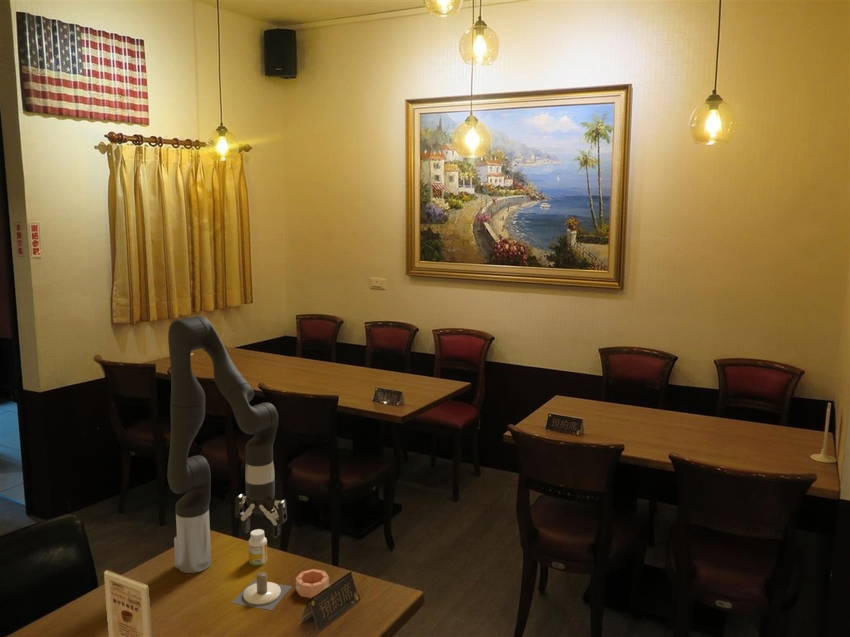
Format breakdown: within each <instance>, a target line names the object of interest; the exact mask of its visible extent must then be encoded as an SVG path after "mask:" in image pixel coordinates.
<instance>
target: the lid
mask: <svg viewBox="0 0 850 637" xmlns="http://www.w3.org/2000/svg"><path fill="white" fill-rule="evenodd" d="M255 576H256V577H255V578H256V579H255V580H257V583H255V584H253V585H250V586H249V587H247V586H246V587H247V588H246V587H245V588H246V589H245V588H244V589H245V591H244V593H243V598H244V600H245V601H246V602H247V603H250V604H253V605H264V604H268V603H271V602H273V601H275V600H277V599H278V598H279V597H280V595H281V588H280V586H279V585H277V584H278V583H275V582H273V581H272V582H271V581H268V573H267V572H264V571H263V572H259V573H257V574H256V575H255Z"/></svg>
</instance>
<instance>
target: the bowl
mask: <svg viewBox="0 0 850 637" xmlns="http://www.w3.org/2000/svg"><path fill="white" fill-rule="evenodd" d="M328 586H329V587H330V576H329V575H328V573H327V572H326V571H325V570H323V569H322V570H321V569H315V568H311V569H308V570H305V571H304V570H303V571H301V572H300V573H299V574H298V575H297V576H296V577H295V591H296V592H297V594H298V595H299V596H300V597H303V598H310V599H313V598H312V597H314V596H315V595H317V594H318V593H320V592H321V591H322V590H324V589H325V588H326V587H328ZM314 598H315V597H314Z"/></svg>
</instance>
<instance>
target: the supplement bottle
mask: <svg viewBox="0 0 850 637" xmlns="http://www.w3.org/2000/svg"><path fill="white" fill-rule="evenodd" d="M267 562H268V539H267V537H265V530H264V529H261V528H257V529H254V530H251V531H250V538H249V539H248V563H249V564H250V565H251V566H262V565H264V564H266V563H267Z"/></svg>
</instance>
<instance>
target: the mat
mask: <svg viewBox="0 0 850 637" xmlns="http://www.w3.org/2000/svg"><path fill="white" fill-rule="evenodd" d="M255 583H257V579H253V580H252V581H251V582H250V583H249V584H248V585H247V586H246V587H245V588H244V589H243V590H242V591H241V592H240V593H239V594H238V595H237V596H236V597H235V598H234V600H232V601H231V604H234V605H239V606H245V607H250V608H256V609H262V610H267V611H272V610H274V609H275V607H276V606H277V605H278V604H279V602H281V600H282V599H283V598H284V597H285V596H286V594H287V593H288V592H289V591H290V590H291V588H293V586H291V585H285V584H280V583H276V584H277V585H279V586H280V588H281V595H280V597H279V598H278V599H277V600H275V601H273V602H271V603H268V604H264V605H253V604H250V603H247V602H246V601H245V600H244V598H243V593H244V591H245V589H246V588H247V587H249V586H250V585H253V584H255Z"/></svg>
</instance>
